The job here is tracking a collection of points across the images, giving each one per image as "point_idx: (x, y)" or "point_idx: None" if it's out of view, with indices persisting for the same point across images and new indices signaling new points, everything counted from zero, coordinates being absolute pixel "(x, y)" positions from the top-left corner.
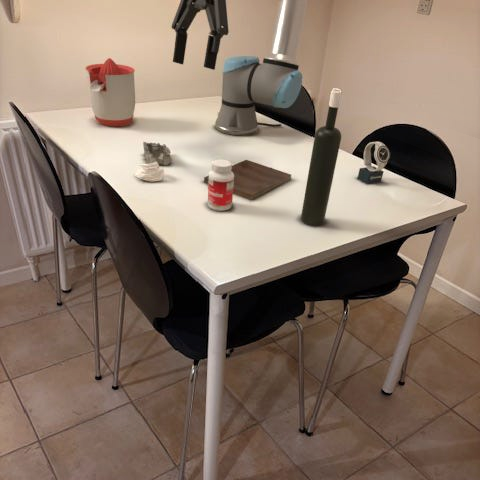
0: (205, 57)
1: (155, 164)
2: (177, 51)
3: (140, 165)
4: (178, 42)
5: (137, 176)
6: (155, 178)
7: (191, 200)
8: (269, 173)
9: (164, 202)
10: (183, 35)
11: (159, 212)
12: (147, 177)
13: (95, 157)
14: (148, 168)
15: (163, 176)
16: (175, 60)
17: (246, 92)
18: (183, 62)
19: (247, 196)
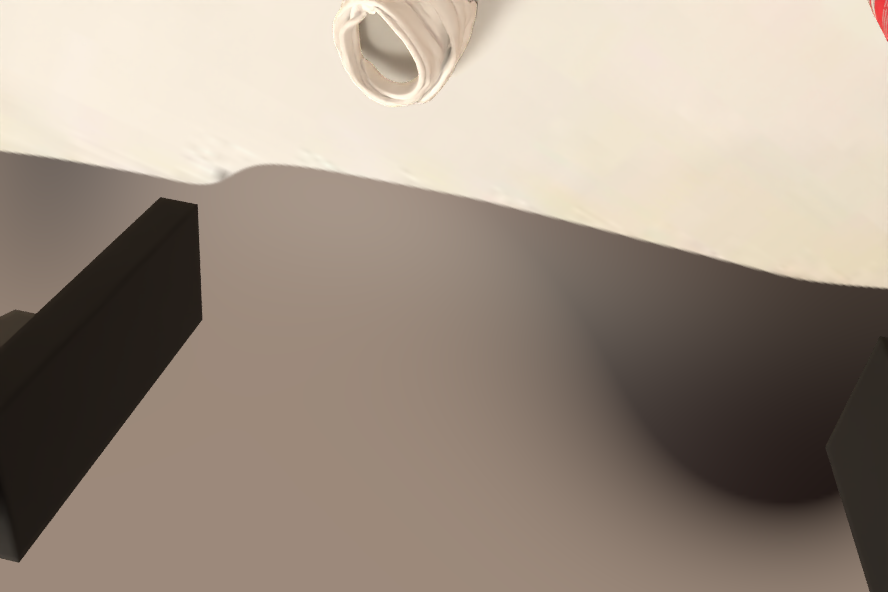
0: (856, 522)
1: (428, 56)
2: (143, 369)
3: (370, 95)
4: (90, 447)
5: (404, 105)
6: (464, 43)
7: (763, 30)
8: None
9: (681, 135)
10: (15, 473)
11: (735, 199)
12: (446, 81)
13: (41, 87)
14: (429, 88)
15: (472, 2)
16: (190, 317)
17: None
18: (185, 215)
19: None
